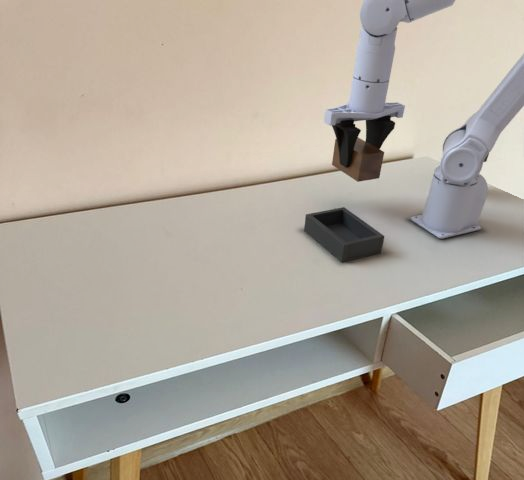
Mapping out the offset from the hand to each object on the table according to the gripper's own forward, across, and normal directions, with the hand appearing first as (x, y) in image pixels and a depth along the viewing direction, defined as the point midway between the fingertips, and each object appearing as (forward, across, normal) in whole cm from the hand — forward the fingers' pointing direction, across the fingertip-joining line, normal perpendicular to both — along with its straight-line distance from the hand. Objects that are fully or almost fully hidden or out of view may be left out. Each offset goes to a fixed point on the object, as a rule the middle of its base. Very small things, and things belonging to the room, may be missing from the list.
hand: (356, 163), depth 95 cm
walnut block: (+1, 0, 0) cm, 1 cm away
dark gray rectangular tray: (+8, +8, +10) cm, 15 cm away
